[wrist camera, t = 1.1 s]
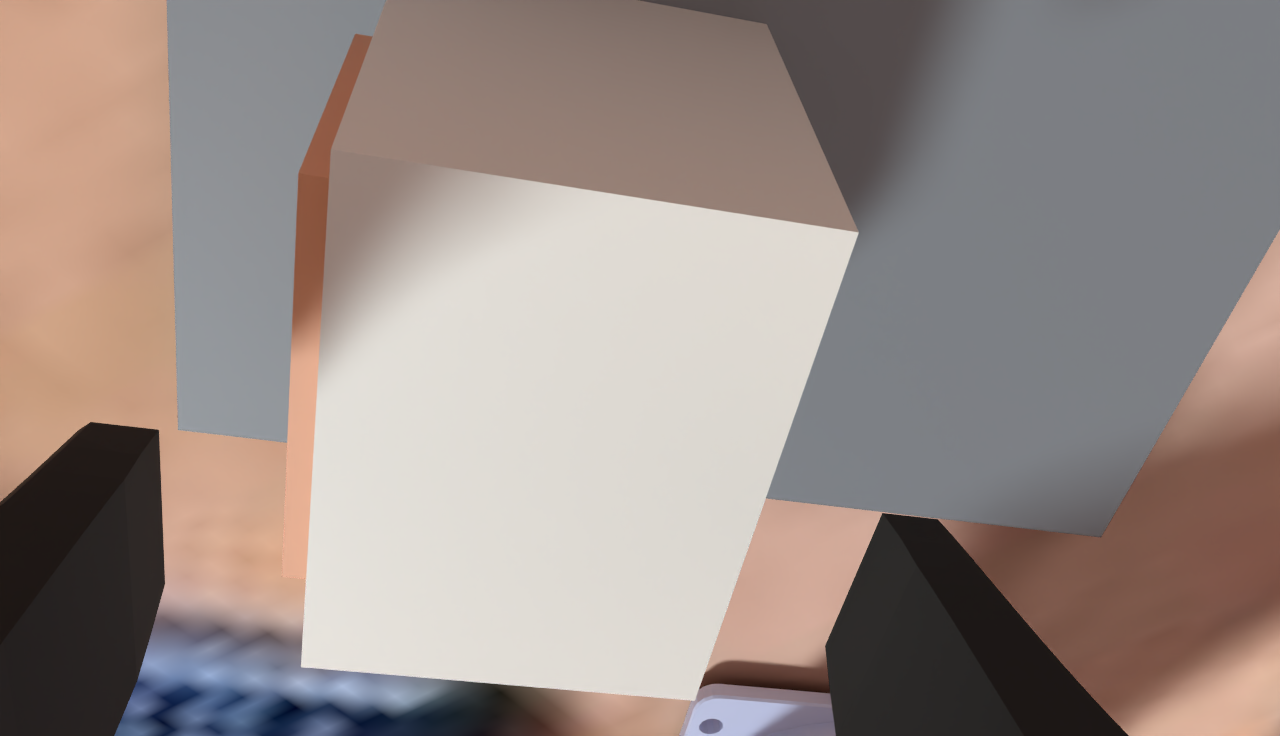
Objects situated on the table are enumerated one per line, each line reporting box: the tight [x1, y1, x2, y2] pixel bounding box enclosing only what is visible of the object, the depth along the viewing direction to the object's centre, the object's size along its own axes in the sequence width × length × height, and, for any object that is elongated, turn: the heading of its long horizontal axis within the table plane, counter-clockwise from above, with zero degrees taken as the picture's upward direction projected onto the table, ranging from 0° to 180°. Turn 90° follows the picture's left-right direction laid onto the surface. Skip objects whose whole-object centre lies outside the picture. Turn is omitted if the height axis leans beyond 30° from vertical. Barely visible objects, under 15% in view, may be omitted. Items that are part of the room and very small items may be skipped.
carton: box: [282, 0, 859, 701], centre depth 15 cm, size 5×7×6 cm
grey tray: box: [167, 0, 1280, 537], centre depth 16 cm, size 17×17×3 cm
